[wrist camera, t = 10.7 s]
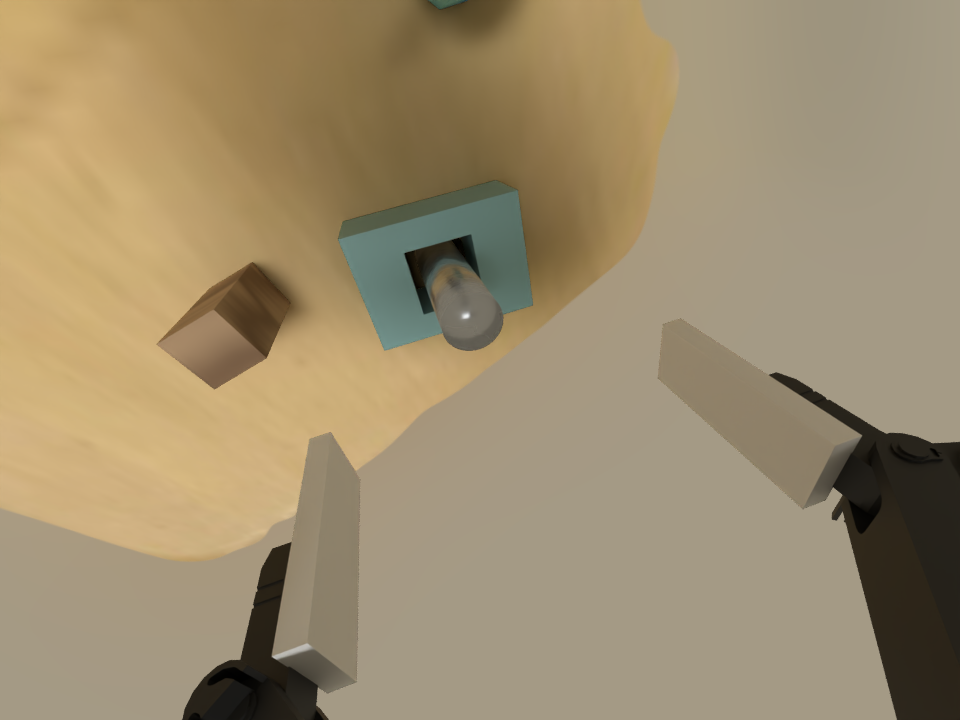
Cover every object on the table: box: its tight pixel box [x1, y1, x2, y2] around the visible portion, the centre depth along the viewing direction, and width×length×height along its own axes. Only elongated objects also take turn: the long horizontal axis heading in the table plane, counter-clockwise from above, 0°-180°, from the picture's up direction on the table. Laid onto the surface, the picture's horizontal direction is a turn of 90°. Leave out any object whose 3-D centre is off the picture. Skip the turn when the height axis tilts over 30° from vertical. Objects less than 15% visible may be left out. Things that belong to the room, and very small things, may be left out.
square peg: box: [157, 262, 290, 389], centre depth 30 cm, size 4×4×10 cm
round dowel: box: [415, 240, 503, 351], centre depth 30 cm, size 4×4×15 cm
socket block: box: [338, 180, 533, 351], centre depth 34 cm, size 10×14×6 cm
